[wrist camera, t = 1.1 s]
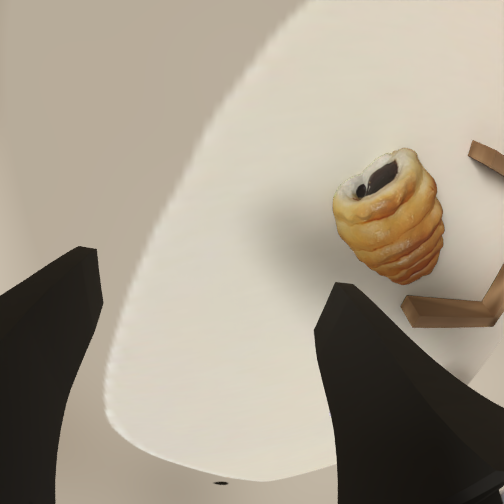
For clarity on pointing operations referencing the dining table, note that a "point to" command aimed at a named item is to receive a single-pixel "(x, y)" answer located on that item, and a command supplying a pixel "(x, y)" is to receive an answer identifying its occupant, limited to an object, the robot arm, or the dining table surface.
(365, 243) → the pastry
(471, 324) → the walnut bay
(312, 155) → the dining table surface
